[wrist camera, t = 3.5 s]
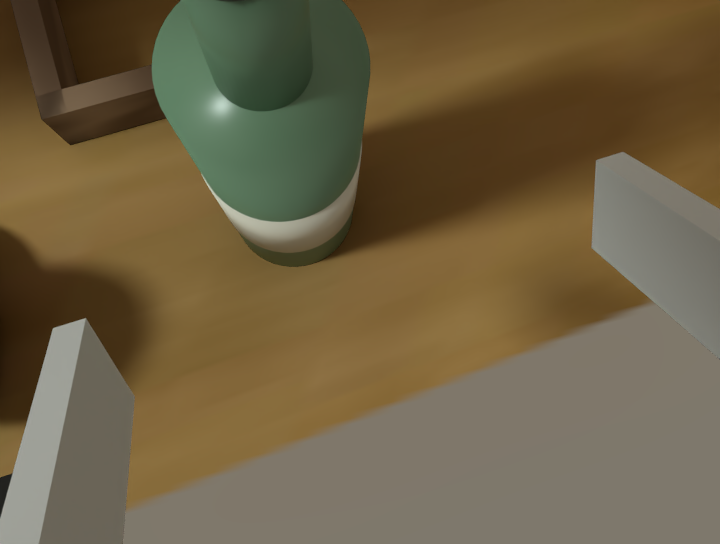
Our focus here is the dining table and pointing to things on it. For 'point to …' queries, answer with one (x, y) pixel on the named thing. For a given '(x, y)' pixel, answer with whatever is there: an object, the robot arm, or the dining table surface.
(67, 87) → the u rest
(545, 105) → the dining table surface
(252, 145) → the bottle
